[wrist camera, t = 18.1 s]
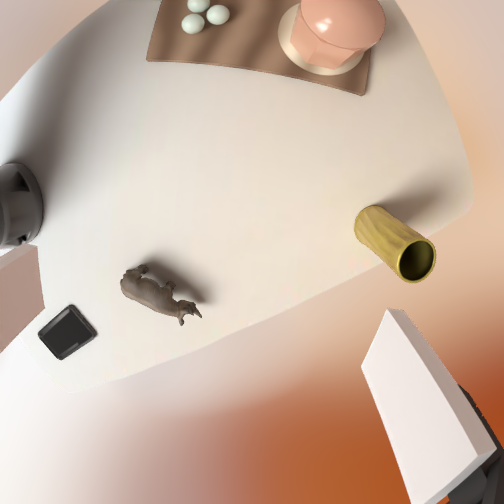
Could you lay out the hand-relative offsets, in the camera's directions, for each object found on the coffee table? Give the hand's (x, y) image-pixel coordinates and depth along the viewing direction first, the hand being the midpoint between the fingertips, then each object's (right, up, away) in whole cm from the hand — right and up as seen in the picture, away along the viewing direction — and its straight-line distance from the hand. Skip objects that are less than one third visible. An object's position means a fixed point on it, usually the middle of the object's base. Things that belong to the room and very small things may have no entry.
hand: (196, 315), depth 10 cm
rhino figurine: (-12, -4, +37) cm, 39 cm away
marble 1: (-5, +35, +19) cm, 40 cm away
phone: (-35, -14, +41) cm, 56 cm away
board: (+3, +33, +23) cm, 40 cm away
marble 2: (-6, +32, +20) cm, 38 cm away
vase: (+20, +6, +33) cm, 39 cm away
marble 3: (-3, +33, +20) cm, 38 cm away
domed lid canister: (+11, +30, +22) cm, 39 cm away
